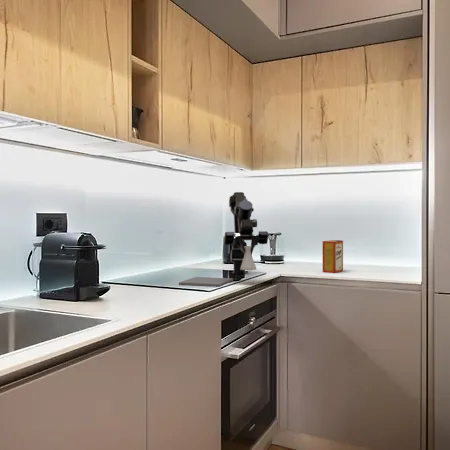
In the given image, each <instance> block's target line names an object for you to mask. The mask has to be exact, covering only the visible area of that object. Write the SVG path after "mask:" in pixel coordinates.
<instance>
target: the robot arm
mask: <svg viewBox="0 0 450 450" xmlns="http://www.w3.org/2000/svg"><path fill="white" fill-rule="evenodd" d="M228 207H229V208H230V212H231V213H232V215H233V225H234V227H233V228H234V231H225V232H224V238H223V239H224V245H226V246H227V245H232V247H231V249H230V261H231V262H233V271H232V272H231V275H232V274H233V275H246V274H247V273H248V271H246V270H240V268H241V265H242V262H243V258H244V254H245V248H244V246H248V244H247V241H250V242H251V243H250V246H251V254H253V252H254V248H255V247H256V246H258V245H267V244H268V242H269V232H268V231H264V230H263V231H261V230H259V231H258V234H253V233H254V228H257V227H258V221H257V218H254V219H253V218H252V213H253V212H254V207H253V203H252V202H251V201H250V200H248V198H247V197H246V196H245V192H244V191H243V192H241V191H237V192H236V191H235V192H234V193H233V194H232V195H230V196H229V199H228ZM251 218H252V219H251Z"/></svg>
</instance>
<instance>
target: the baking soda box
mask: <svg viewBox="0 0 450 450" xmlns="http://www.w3.org/2000/svg"><path fill="white" fill-rule="evenodd" d="M343 271H344V240H342V239H340V240H339V239H337V240H335V239H329V240H323V241H322V273H328V274H337V273H342V272H343Z"/></svg>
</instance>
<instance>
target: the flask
mask: <svg viewBox="0 0 450 450" xmlns="http://www.w3.org/2000/svg"><path fill="white" fill-rule="evenodd" d="M244 248H245V254H244V258H242V259H243V262H242V265H241V268H240V270H245V271H255V270H257V267H256V264H255V262H254V257H253V253H251V245H247V246H244Z"/></svg>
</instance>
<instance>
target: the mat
mask: <svg viewBox="0 0 450 450" xmlns="http://www.w3.org/2000/svg"><path fill="white" fill-rule="evenodd" d="M233 281H234V278H232V277H231V278H229V277H210V276H209V277H207V276H205V277H203V276H194V277H192V278H188V279H185V280H182V281H179V282H178V285H179V286H192V287H193V286H196V287H211V286H216V287H215V288H217V287H218V288H220V287H221V285H222V286H224V285H226V283H227V284H229V283H231V282H233ZM219 286H220V287H219Z"/></svg>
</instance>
